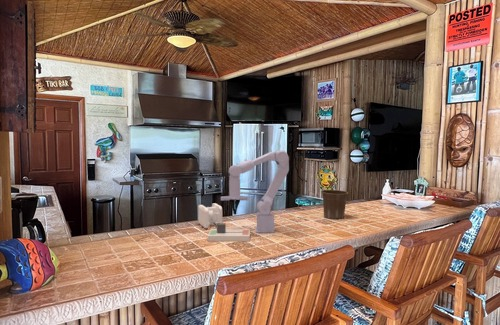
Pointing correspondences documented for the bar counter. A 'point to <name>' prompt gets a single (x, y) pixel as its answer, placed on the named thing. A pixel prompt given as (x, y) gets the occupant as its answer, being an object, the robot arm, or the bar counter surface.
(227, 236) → the switch plate
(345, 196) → the plant pot
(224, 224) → the knob
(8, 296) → the bar counter surface
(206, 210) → the cable organizer
